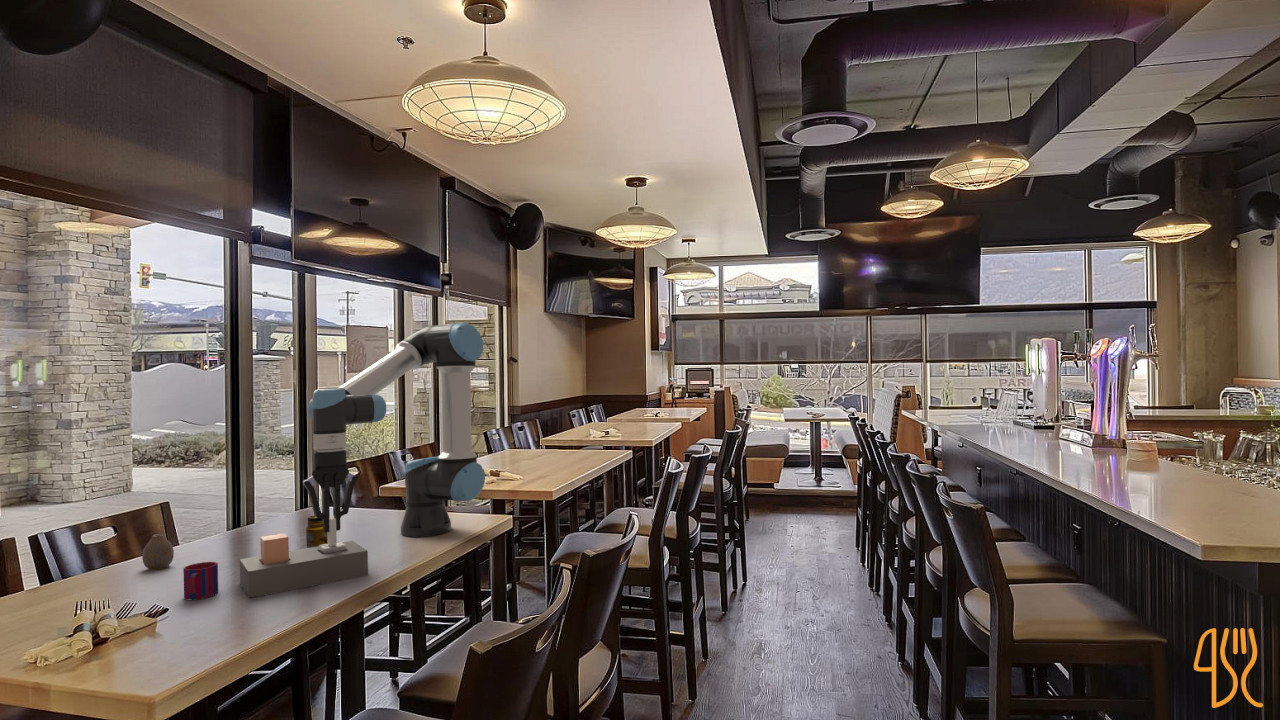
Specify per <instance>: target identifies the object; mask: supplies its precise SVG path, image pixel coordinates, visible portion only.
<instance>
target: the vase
mask: <svg viewBox="0 0 1280 720" xmlns="http://www.w3.org/2000/svg"><path fill="white" fill-rule="evenodd" d="M174 550H175V549H174V547H173V544H172V543H171V541H169V540H168V539H167V538H166V537H165V536H164V534H162V533H158V534H154V535H152V536H151V538H150V539H149V541H148V542H147V544H146V545H145V547H144V548H143V550H142V555H141V558H142V562H143V565H144V566H145V568H146V569H148V570H150V571H158V570H163V568H164V569H166V568H168V567H169V566H170V565H171V564H172V562H173V560H174V557H175V556H174V555H175V551H174Z"/></svg>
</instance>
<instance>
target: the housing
mask: <svg viewBox="0 0 1280 720" xmlns="http://www.w3.org/2000/svg"><path fill="white" fill-rule="evenodd" d="M341 542H342V543H344V544H345V545H346V551H341V552H335V553H329V554H321V553H320V552H319V546H317V547H311V548H307V547H305V548H299V549H293V550H289V560H288V561H282V562H277V563H271V564H265V565H263V564H262V563H261V555H256V556H252V557H251V556H250V557H245V558H240V559H239V581H240V582H239V584H240V586H241V585H242V586H241V588H242V587H243V588H242V589H243V591H244V590H245V591H244V593H245V592H246V593H247V594H246V593H245V594H246V596H247V595H248V596H247V597H248V599H251V598H250V597H253V598H255V597H254V596H258V597H261V596H260V595H263V596H266V595H265V594H268V595H272V594H271V593H273V594H277V593H282V592H288V591H292V590H297V588H299V589H303V587H304V588H308V587H307V586H309V587H312V585H314V586H318V584H319V585H323V583H324V584H329V583H333V581H334V582H339V581H344V580H349V579H354V578H360V577H365V576H369V557H368V554H369V552H368V551H369V550H367V549H366V548H365V547H362V546H361V545H360V544H358V543H357V542H355V541H354V540H348V541H341ZM338 580H339V581H338ZM287 590H288V591H287Z"/></svg>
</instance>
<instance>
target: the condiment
mask: <svg viewBox="0 0 1280 720" xmlns="http://www.w3.org/2000/svg"><path fill="white" fill-rule="evenodd" d="M305 531H306V534H305V535H306V537H305V538H306V548H311V547H317V546H319V545H323V544H328V541H327V532H324V531H323V519H322V518H317V517H316V516H315V515H314V514H313V515H310V516H308V518H307V527H306V529H305Z"/></svg>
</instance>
